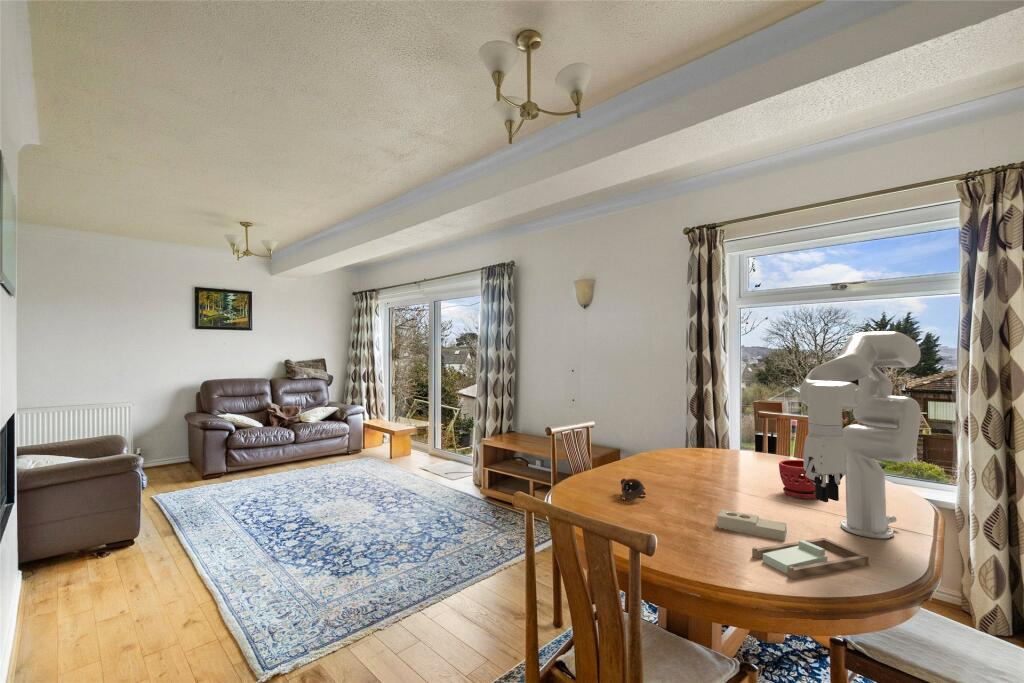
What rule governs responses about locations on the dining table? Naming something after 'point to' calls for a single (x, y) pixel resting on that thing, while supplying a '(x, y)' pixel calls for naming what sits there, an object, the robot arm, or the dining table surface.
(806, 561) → the cover plate
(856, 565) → the brown u-shaped frame
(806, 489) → the plant pot
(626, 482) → the dark turtle figurine
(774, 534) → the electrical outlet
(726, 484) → the dining table surface
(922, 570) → the dining table surface
